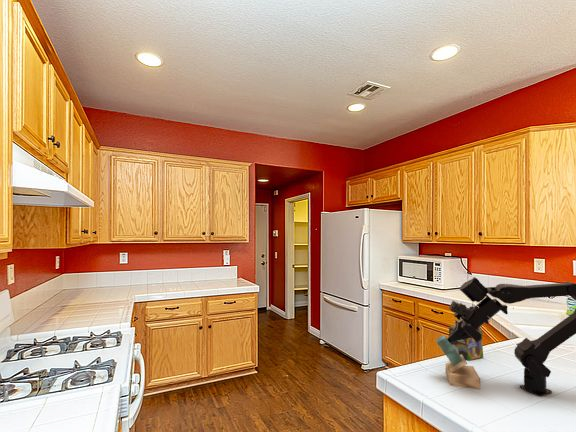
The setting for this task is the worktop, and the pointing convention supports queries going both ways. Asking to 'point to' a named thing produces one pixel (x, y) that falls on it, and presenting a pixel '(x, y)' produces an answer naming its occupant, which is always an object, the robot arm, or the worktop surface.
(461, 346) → the chalk box
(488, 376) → the worktop surface
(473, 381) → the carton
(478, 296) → the robot arm
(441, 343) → the tall teal pillar
